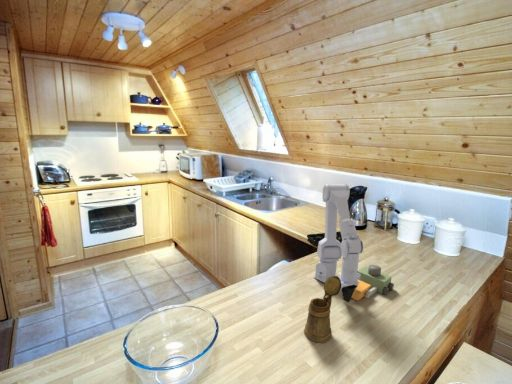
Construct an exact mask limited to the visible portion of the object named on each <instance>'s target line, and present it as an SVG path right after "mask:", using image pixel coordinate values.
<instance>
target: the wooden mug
mask: <svg viewBox="0 0 512 384" xmlns="http://www.w3.org/2000/svg"><path fill="white" fill-rule="evenodd" d="M338 276H339V275H337V276H332V277H329V278H328V279H327V280H326V282H325V283H324V285H323V291H324V296H323V297H322V298H321V297H320V298H318V297H315V298H312V299H311V300H310V303H309V305H308V314H307V318H306V323H305V325H304V329H303V333H304V336H305V337H306V338H307V339H309V340H310V341H313V342H314V343H319V344H320V343H327V342H329V341H330V340H331V339H332V327H331V307H332V299H333V297H334V296H336V295H338V294H339V293H340V292H341V291H340V290H341V281H340V278H339V277H340V276H339V277H338Z"/></svg>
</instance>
